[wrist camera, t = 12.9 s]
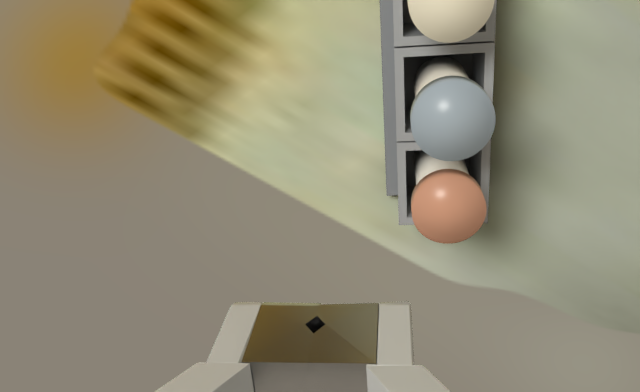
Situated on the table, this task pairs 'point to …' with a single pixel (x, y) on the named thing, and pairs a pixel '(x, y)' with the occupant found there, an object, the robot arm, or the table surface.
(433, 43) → the socket board
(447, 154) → the slate plug
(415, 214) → the terracotta plug
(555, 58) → the table surface
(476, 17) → the cream plug
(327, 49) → the table surface
